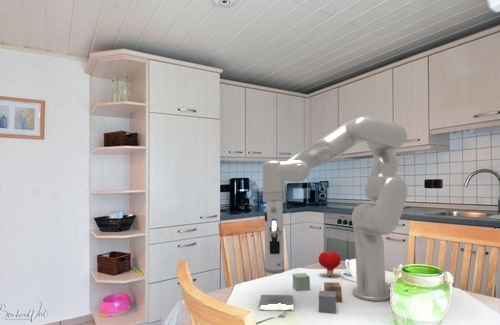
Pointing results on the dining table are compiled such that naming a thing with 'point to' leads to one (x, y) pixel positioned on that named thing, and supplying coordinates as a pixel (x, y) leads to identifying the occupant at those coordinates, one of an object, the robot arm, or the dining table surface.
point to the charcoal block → (327, 302)
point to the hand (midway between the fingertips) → (275, 250)
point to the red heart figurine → (329, 261)
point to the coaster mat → (276, 299)
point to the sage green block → (301, 282)
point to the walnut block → (334, 289)
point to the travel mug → (273, 261)
